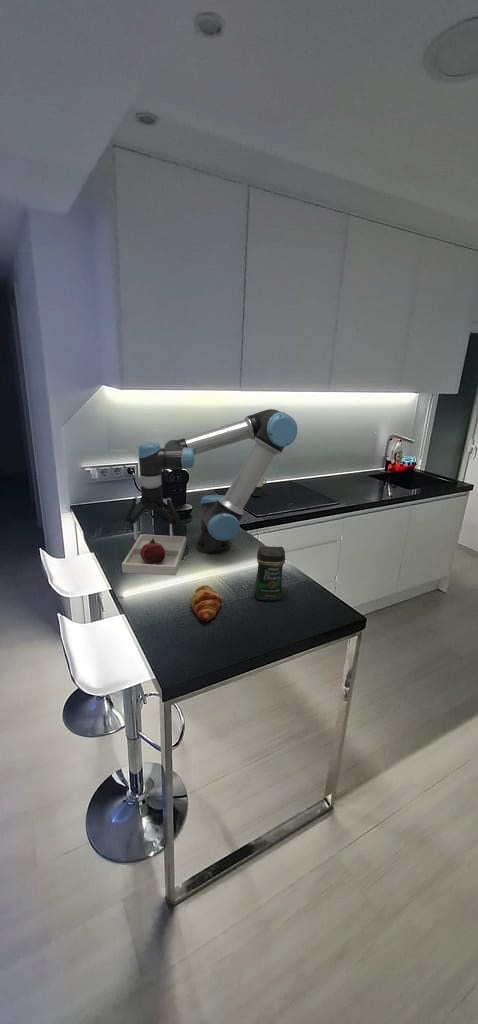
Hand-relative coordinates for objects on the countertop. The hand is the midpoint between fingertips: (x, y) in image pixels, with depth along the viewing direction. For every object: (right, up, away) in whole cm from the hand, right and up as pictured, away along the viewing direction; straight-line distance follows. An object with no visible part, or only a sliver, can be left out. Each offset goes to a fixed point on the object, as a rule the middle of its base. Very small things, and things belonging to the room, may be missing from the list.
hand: (154, 539), depth 163 cm
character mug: (+43, +20, +95) cm, 106 cm away
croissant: (+22, -21, -23) cm, 38 cm away
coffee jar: (+42, -19, -15) cm, 49 cm away
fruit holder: (-1, -8, +10) cm, 13 cm away
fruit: (-1, -9, +3) cm, 10 cm away
